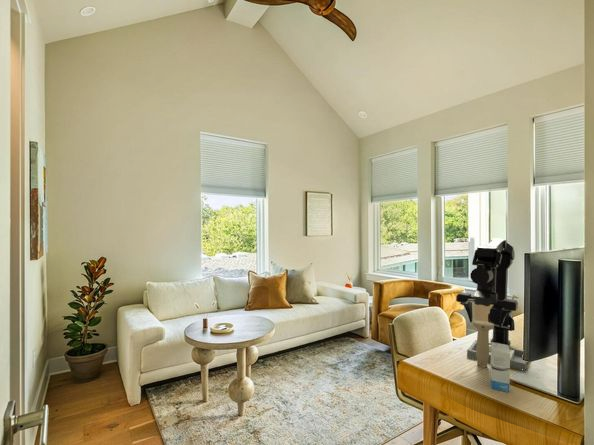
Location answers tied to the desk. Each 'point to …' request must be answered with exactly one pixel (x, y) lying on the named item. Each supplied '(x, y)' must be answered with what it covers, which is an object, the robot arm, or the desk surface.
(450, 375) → the desk surface
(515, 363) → the walled box
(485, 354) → the handle
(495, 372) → the ink box
